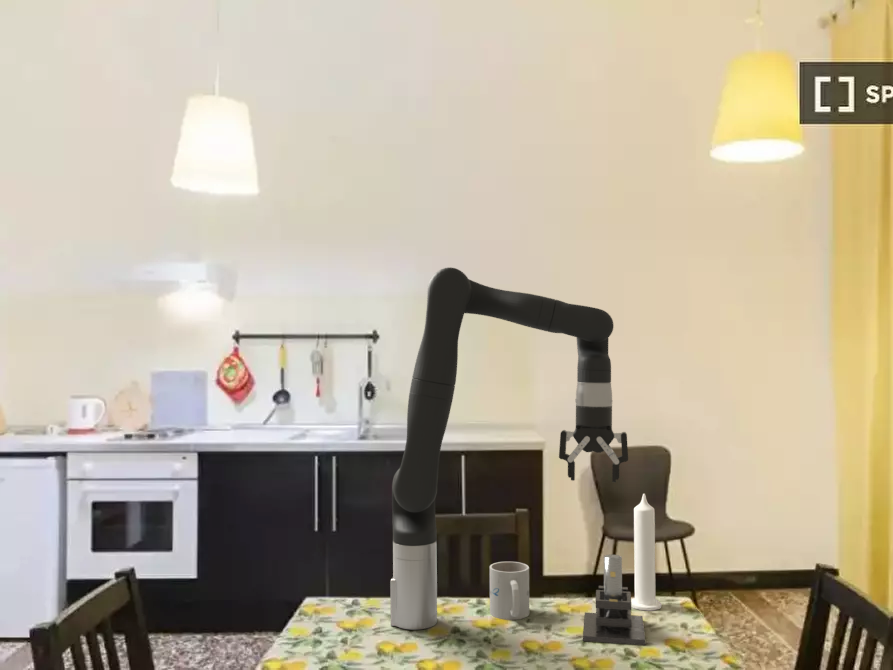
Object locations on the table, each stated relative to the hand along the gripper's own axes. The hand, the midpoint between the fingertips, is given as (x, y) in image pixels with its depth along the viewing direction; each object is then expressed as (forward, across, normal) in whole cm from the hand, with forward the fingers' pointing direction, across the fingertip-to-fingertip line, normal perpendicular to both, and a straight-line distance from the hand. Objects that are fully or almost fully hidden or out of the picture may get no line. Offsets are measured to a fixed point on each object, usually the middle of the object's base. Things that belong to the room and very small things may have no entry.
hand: (593, 480), depth 167 cm
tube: (+29, -4, +4) cm, 29 cm away
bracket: (+30, -4, +4) cm, 30 cm away
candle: (+30, -11, -14) cm, 35 cm away
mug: (+30, +18, -1) cm, 35 cm away
